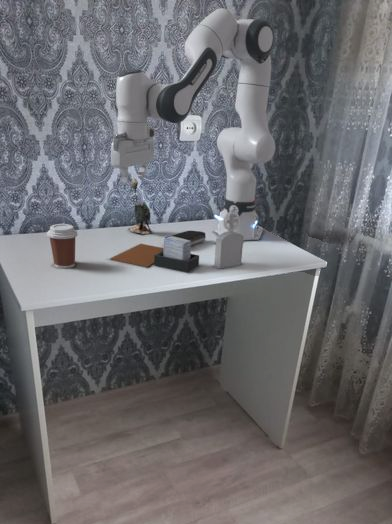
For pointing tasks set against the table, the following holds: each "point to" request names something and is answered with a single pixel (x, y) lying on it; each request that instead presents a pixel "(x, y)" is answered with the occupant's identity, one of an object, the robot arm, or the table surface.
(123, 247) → the table surface
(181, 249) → the medicine box
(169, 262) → the frame
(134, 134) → the robot arm
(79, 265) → the table surface
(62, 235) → the coffee cup
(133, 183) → the plant with pod
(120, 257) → the desk pad
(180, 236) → the black sponge
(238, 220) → the gravestone
